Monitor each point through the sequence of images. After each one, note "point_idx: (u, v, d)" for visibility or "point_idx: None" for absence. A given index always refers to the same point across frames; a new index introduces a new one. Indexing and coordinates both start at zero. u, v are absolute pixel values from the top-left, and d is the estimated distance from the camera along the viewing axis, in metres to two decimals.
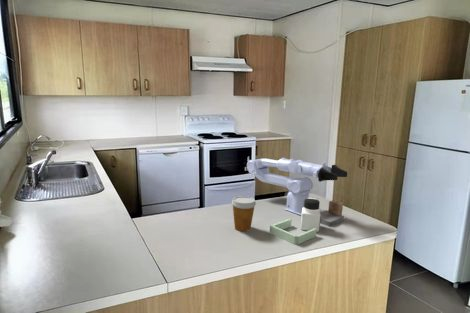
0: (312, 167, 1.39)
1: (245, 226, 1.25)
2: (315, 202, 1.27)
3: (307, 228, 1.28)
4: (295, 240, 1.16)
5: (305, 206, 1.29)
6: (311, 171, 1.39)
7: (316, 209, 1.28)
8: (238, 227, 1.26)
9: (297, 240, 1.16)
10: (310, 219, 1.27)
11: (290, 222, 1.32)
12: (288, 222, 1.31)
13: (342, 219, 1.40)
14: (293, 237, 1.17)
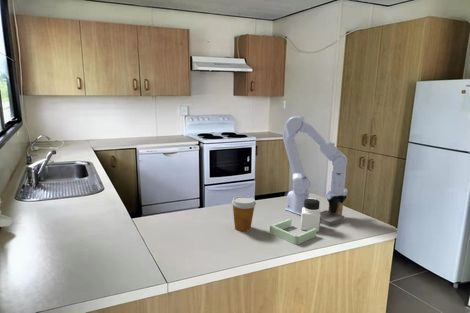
0: (338, 185, 1.38)
1: (245, 226, 1.25)
2: (315, 202, 1.27)
3: (307, 228, 1.28)
4: (295, 240, 1.16)
5: (305, 206, 1.29)
6: (334, 184, 1.39)
7: (316, 209, 1.28)
8: (238, 227, 1.26)
9: (297, 240, 1.16)
10: (310, 219, 1.27)
11: (290, 222, 1.32)
12: (288, 222, 1.31)
13: (342, 219, 1.40)
14: (293, 237, 1.17)
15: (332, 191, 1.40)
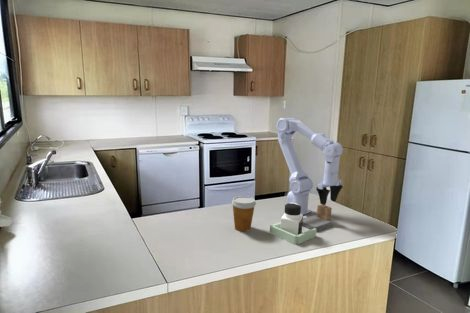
0: (331, 175, 1.33)
1: (245, 226, 1.25)
2: (294, 207, 1.20)
3: None
4: (295, 240, 1.16)
5: (285, 211, 1.23)
6: (327, 174, 1.34)
7: (296, 215, 1.21)
8: (238, 227, 1.26)
9: (297, 240, 1.16)
10: (289, 225, 1.21)
11: None
12: None
13: (330, 224, 1.34)
14: (293, 237, 1.17)
15: (325, 181, 1.35)
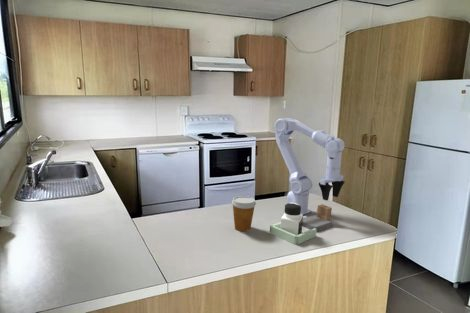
0: (333, 170, 1.34)
1: (245, 225, 1.25)
2: (295, 207, 1.20)
3: None
4: (295, 240, 1.16)
5: (285, 211, 1.23)
6: (329, 170, 1.34)
7: (296, 215, 1.21)
8: (238, 227, 1.26)
9: (297, 240, 1.16)
10: (289, 225, 1.21)
11: None
12: None
13: (330, 224, 1.34)
14: (293, 237, 1.17)
15: (327, 177, 1.35)
